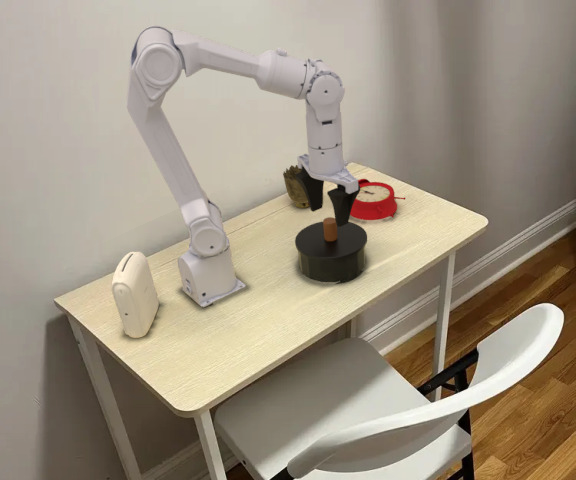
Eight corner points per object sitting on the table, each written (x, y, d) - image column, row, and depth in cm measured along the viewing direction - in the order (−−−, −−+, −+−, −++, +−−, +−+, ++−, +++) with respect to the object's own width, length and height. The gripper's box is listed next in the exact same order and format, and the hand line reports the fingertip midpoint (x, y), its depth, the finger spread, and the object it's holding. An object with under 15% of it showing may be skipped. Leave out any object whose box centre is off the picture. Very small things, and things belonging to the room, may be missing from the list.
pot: (326, 292, 122) (324, 267, 119) (287, 265, 130) (284, 240, 127) (378, 267, 127) (378, 241, 123) (338, 242, 135) (336, 217, 131)
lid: (324, 272, 119) (322, 248, 115) (281, 243, 127) (278, 220, 124) (382, 244, 123) (382, 220, 120) (337, 218, 132) (336, 195, 129)
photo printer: (147, 339, 117) (129, 278, 109) (123, 338, 118) (103, 278, 110) (162, 303, 125) (147, 244, 116) (140, 303, 125) (123, 245, 117)
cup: (322, 197, 149) (319, 162, 144) (320, 214, 144) (317, 178, 138) (288, 198, 150) (284, 164, 145) (285, 215, 145) (281, 180, 139)
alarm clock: (377, 212, 134) (324, 177, 141) (372, 237, 139) (321, 202, 146) (412, 192, 139) (359, 159, 145) (406, 217, 144) (355, 184, 150)
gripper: (372, 147, 109) (373, 223, 118) (317, 123, 119) (322, 195, 128) (337, 161, 107) (341, 237, 116) (284, 135, 116) (292, 208, 125)
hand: (329, 216), depth 122 cm, fingers open, 7 cm apart
